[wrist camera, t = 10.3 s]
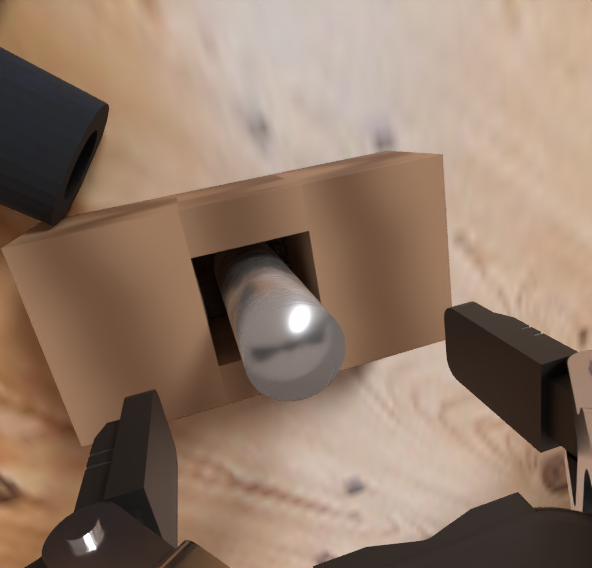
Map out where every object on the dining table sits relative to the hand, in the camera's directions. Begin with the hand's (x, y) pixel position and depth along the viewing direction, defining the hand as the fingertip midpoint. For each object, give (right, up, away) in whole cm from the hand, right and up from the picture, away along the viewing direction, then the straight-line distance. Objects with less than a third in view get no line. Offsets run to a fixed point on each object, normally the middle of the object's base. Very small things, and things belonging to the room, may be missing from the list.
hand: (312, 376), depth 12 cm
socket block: (-3, +3, +10) cm, 11 cm away
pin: (-3, +3, +10) cm, 11 cm away
